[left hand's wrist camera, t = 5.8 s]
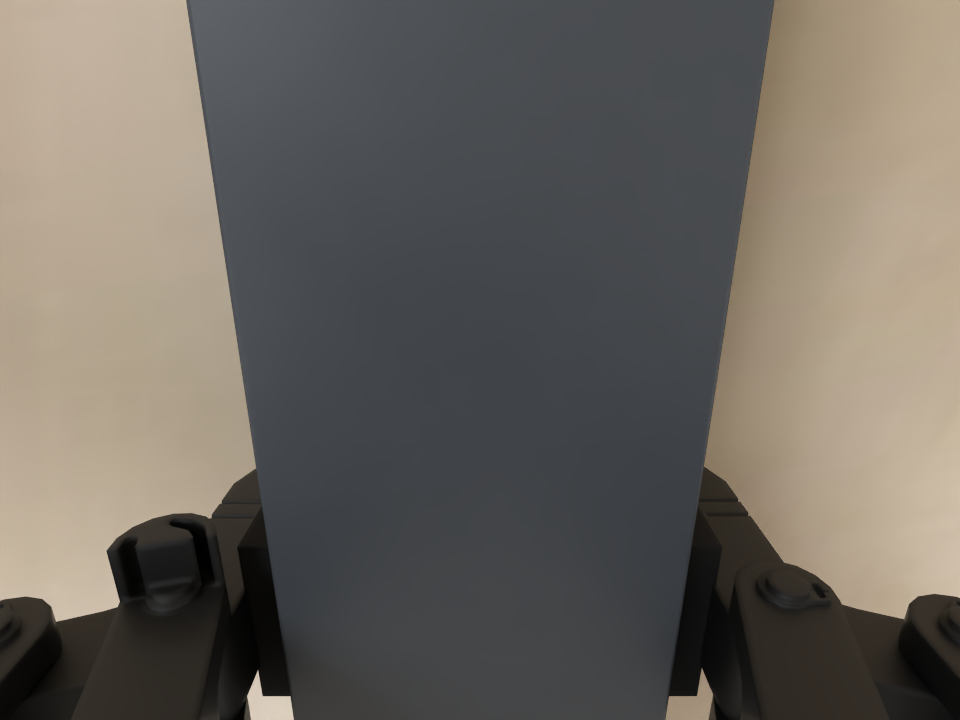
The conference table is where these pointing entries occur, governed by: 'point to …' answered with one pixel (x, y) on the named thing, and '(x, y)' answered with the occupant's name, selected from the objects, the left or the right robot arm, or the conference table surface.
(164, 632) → the left robot arm
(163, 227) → the conference table surface
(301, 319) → the beam
